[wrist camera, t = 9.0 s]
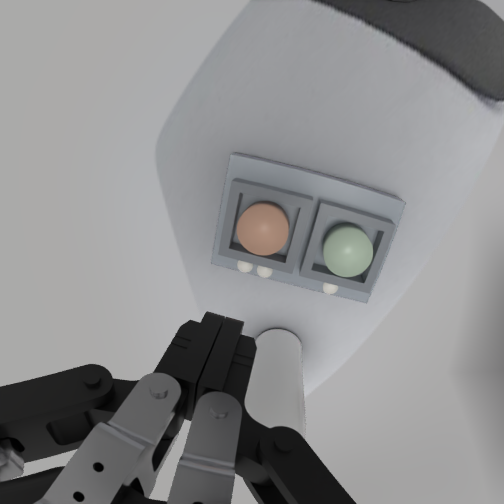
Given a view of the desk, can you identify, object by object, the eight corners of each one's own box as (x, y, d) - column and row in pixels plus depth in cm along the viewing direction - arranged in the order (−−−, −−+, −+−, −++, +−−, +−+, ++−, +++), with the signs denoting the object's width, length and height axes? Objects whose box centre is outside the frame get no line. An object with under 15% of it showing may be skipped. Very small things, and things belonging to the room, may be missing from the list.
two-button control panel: (235, 152, 25) (225, 155, 22) (399, 197, 24) (411, 207, 21) (216, 254, 29) (206, 270, 26) (363, 292, 28) (369, 312, 25)
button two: (246, 195, 24) (242, 200, 22) (294, 207, 24) (294, 213, 22) (237, 240, 25) (232, 248, 24) (282, 252, 25) (281, 260, 24)
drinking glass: (249, 363, 34) (220, 471, 20) (248, 318, 31) (211, 436, 18) (305, 367, 33) (298, 480, 19) (311, 322, 30) (308, 446, 17)
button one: (330, 217, 23) (332, 224, 22) (375, 230, 23) (380, 237, 21) (316, 260, 25) (317, 270, 23) (359, 272, 25) (362, 282, 23)
